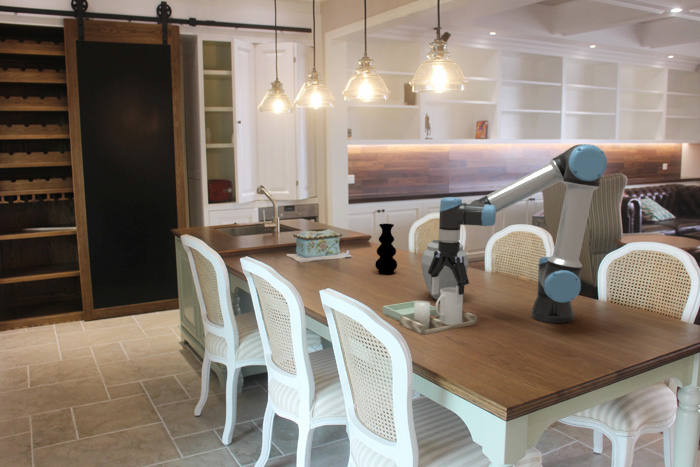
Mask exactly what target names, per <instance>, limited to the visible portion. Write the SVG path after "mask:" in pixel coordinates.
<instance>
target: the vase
mask: <svg viewBox="0 0 700 467" xmlns="http://www.w3.org/2000/svg"><path fill="white" fill-rule="evenodd" d="M439 241H440V240H439V239H434V240H431V241H430V242H429V243H428V244H426V248H425V250H424V251H423V252H422V257H421V260H420V262H421V263H420V264H421V272H422V277H423V279H424V283H425V286H426V289H427V291H428V292H429V294H430V296H431V297H432V298H433V299H435V300H436V301H437V300H438V299H439V297H440V290H441V289H442V288H456V285H457V284H458V283H457V281H456V279H455V276H454V274H453V272H452V270H451V269H450V268H449V267H447V266H444V267H443V269H442V270H441V272H440V273H439V276H437V277H439V294H435V295H432V277H431V275H430V274H428V270H429V268H430V265H431V263H432V260H433V257H434V252H435V251H439V250H438V245H439ZM457 256H458V257H464V265H465V269H466V273H467V272H468V267H469V260H468V254H467V252H466V251H465V250H464V245H463V244H462V243H460V250H459V252H458V253H457ZM454 266H455V265H454ZM467 274H468V273H467ZM460 282H461V281H460Z"/></svg>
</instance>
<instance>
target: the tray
mask: <svg viewBox="0 0 700 467" xmlns="http://www.w3.org/2000/svg"><path fill="white" fill-rule="evenodd" d="M416 301H417V300H413V301H406V302H401V303H394V304H388V305H382V314H383V315H385V316H387V317H389V318H391V319H394V320H395V321H399V322H400V316H404V317H406V318H409V319H411V320H413V319H414V302H416ZM438 312H439V313H440V307H438ZM430 315H431V316H435V315H438V314H437V312H436V306H433V305H431V304H430Z"/></svg>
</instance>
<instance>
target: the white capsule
mask: <svg viewBox="0 0 700 467" xmlns="http://www.w3.org/2000/svg"><path fill="white" fill-rule="evenodd" d="M415 301H416V302H414V321H416V322H418V323H420V324H423V325H425V330H427V329H430V327H431V326H430V305H431V302H430V301H425V300H415Z"/></svg>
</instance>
